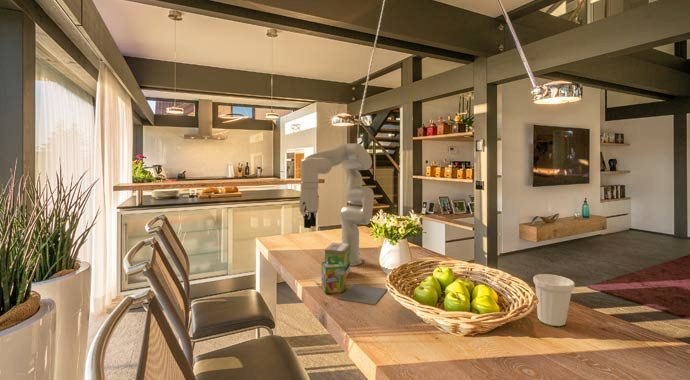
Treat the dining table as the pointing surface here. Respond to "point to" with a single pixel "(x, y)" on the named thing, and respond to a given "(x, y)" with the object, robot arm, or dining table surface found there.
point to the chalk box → (333, 276)
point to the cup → (553, 298)
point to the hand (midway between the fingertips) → (310, 226)
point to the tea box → (339, 254)
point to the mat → (363, 294)
